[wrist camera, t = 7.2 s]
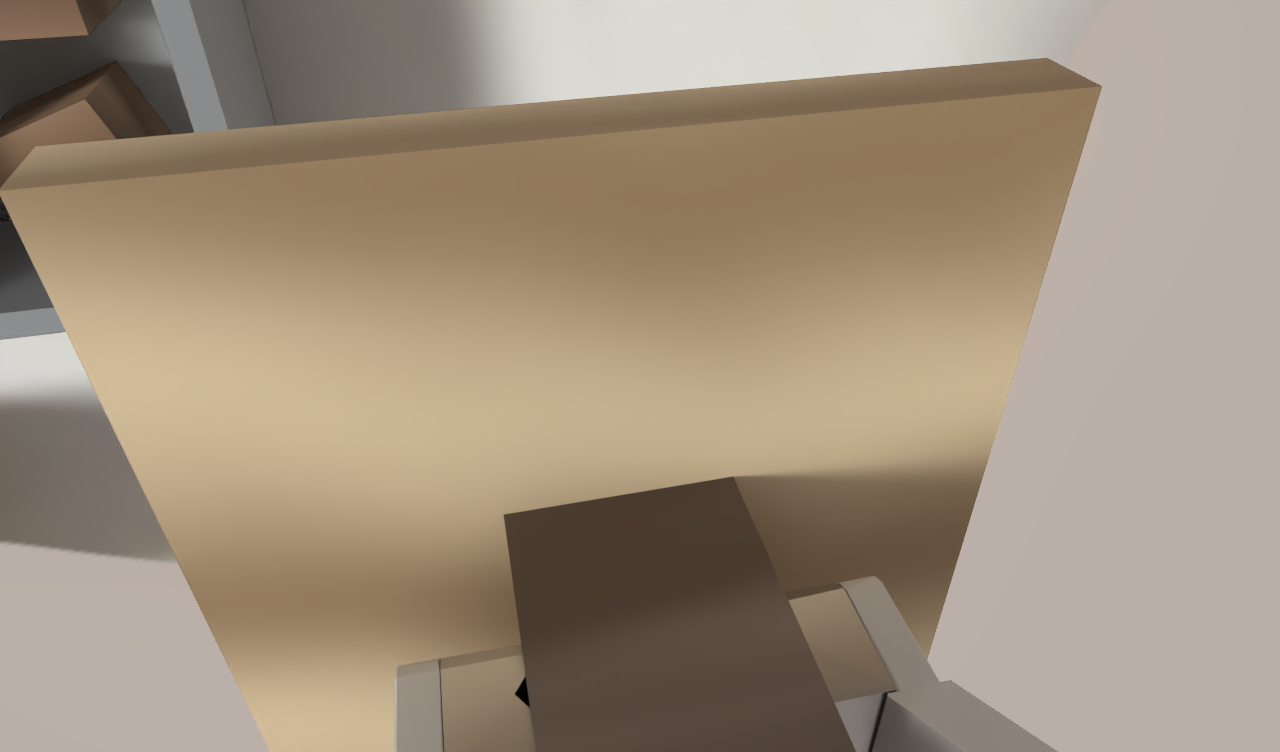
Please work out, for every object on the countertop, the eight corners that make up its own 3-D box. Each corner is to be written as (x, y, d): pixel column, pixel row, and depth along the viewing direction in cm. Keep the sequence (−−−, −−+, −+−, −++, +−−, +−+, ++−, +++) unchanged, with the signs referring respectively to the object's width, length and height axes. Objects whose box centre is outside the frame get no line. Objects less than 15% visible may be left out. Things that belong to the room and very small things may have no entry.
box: (-259, -198, 21) (-447, -174, 16) (185, -209, 23) (131, -191, 18) (-25, 247, 28) (-109, 352, 24) (299, 214, 30) (281, 305, 25)
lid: (71, 103, 9) (-287, 529, 4) (991, 28, 11) (1462, 273, 6) (335, 754, 17) (311, 1175, 12) (854, 648, 19) (1017, 976, 14)
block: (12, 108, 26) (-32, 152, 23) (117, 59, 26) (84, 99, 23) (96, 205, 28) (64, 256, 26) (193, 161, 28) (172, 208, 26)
